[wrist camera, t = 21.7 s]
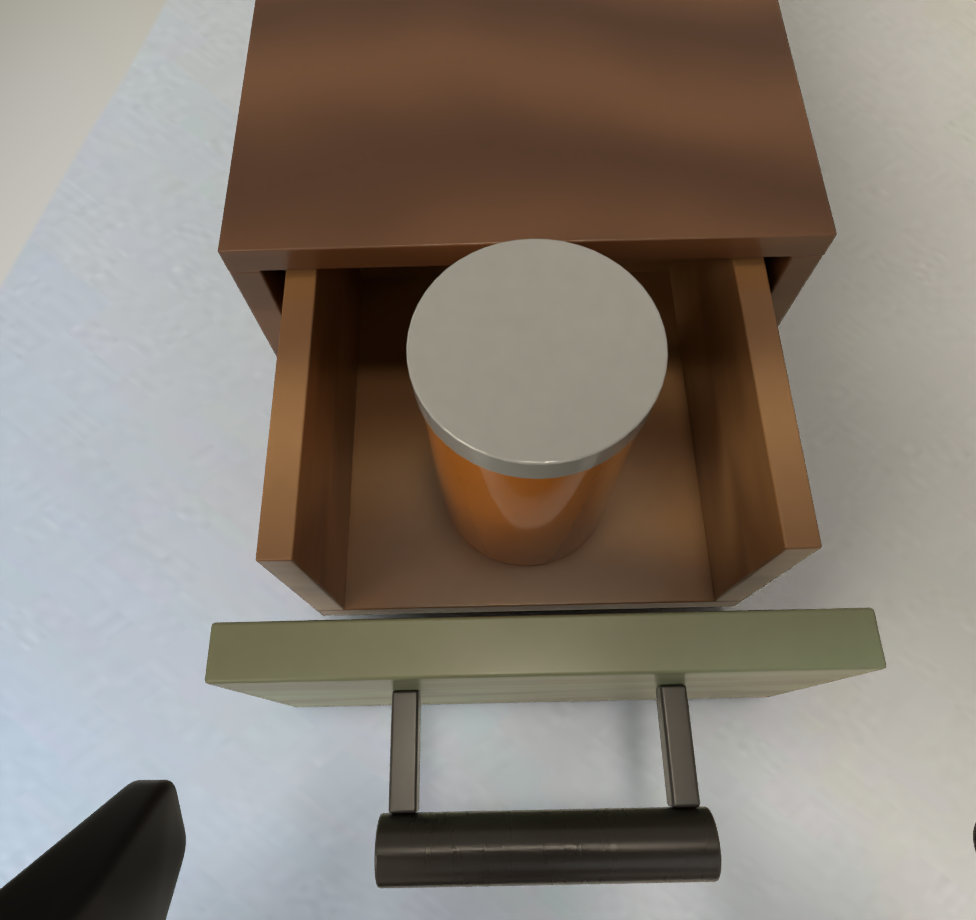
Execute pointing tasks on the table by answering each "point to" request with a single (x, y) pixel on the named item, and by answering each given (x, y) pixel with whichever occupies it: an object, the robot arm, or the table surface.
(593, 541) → the drawer
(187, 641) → the table surface
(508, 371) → the amber jar
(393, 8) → the cabinet
